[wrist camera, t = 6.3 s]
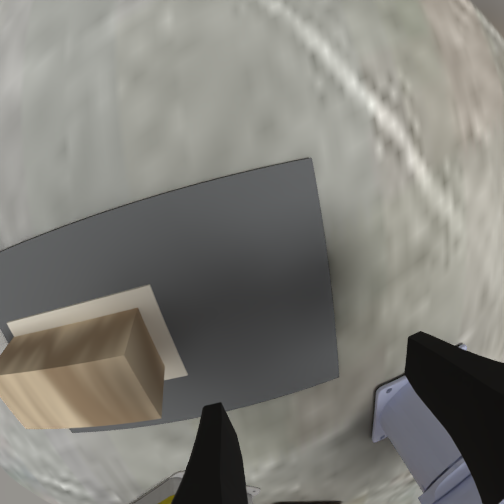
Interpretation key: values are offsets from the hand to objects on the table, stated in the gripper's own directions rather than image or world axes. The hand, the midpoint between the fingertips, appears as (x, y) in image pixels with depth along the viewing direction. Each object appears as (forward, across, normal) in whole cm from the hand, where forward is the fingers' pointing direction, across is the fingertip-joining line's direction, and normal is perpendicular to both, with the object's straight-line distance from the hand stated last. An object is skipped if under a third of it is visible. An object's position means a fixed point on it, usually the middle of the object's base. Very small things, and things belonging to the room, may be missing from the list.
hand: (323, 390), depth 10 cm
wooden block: (+4, +7, 0) cm, 8 cm away
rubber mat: (+7, +7, 0) cm, 10 cm away
